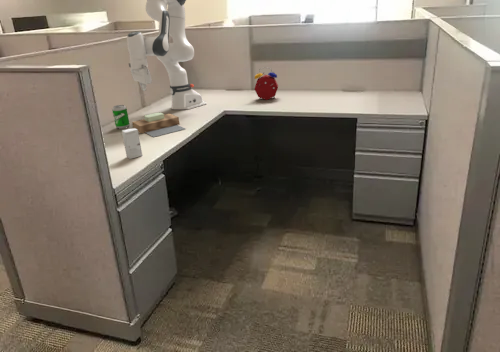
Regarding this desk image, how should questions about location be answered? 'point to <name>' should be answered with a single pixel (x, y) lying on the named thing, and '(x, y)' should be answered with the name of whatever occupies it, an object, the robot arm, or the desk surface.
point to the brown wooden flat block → (156, 123)
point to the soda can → (120, 116)
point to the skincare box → (132, 143)
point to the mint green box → (154, 117)
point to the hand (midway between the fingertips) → (144, 90)
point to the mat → (165, 130)
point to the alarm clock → (266, 85)
